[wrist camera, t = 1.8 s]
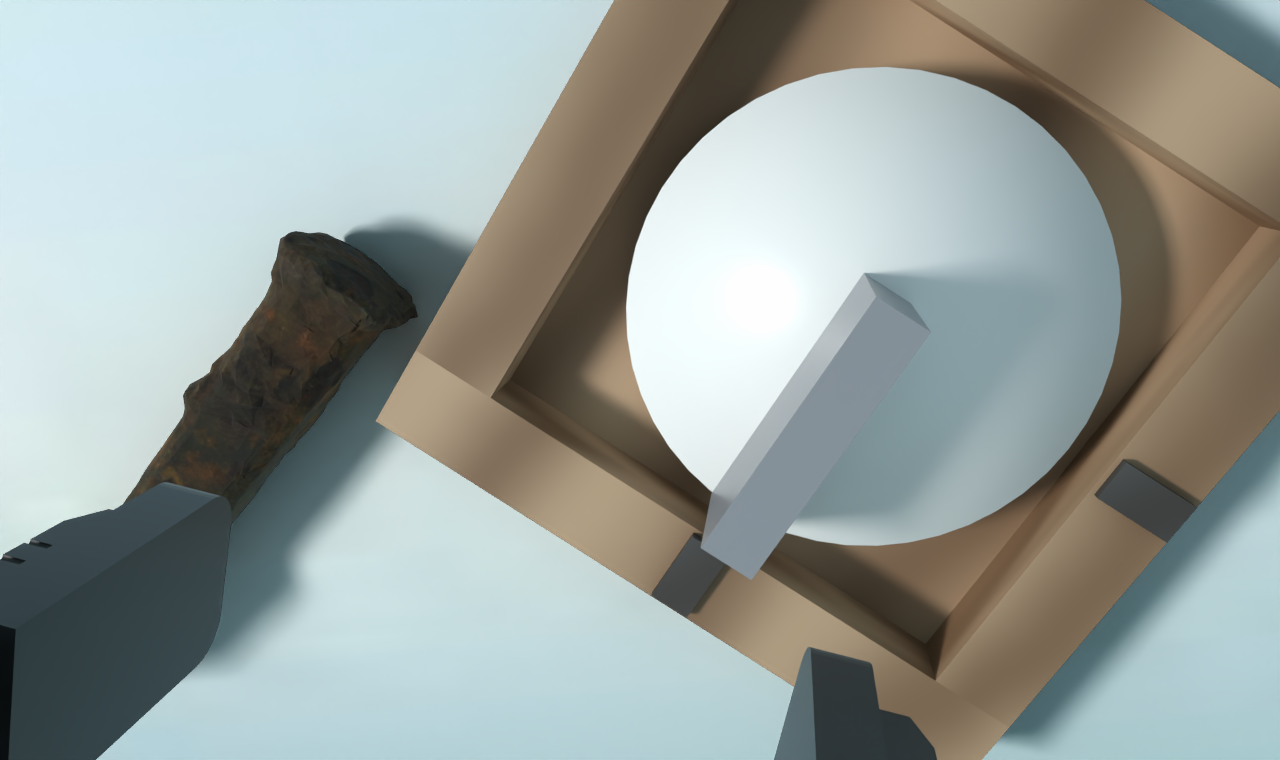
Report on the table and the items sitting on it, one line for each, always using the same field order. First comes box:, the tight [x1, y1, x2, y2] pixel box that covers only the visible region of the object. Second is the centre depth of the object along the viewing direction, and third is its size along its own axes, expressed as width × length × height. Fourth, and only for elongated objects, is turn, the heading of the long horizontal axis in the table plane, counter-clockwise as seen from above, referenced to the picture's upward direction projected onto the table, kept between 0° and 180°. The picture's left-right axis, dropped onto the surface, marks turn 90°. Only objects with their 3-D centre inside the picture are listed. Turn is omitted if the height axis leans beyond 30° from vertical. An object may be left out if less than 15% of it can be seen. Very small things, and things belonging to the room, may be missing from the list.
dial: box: [626, 67, 1121, 580], centre depth 27 cm, size 13×13×6 cm
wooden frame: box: [376, 0, 1280, 760], centre depth 29 cm, size 20×20×3 cm
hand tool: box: [124, 231, 418, 524], centre depth 33 cm, size 19×4×5 cm, turn 138°
